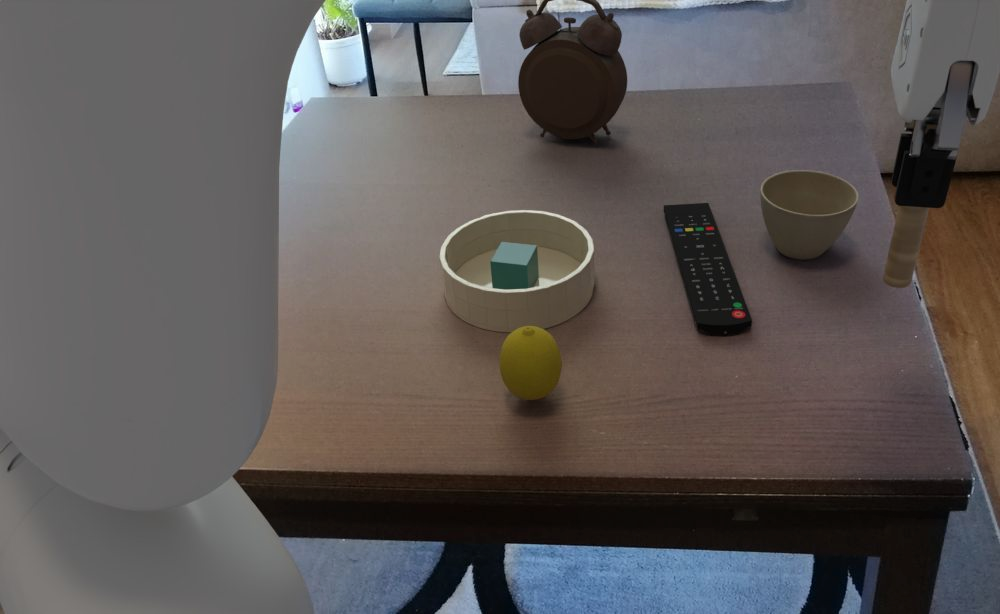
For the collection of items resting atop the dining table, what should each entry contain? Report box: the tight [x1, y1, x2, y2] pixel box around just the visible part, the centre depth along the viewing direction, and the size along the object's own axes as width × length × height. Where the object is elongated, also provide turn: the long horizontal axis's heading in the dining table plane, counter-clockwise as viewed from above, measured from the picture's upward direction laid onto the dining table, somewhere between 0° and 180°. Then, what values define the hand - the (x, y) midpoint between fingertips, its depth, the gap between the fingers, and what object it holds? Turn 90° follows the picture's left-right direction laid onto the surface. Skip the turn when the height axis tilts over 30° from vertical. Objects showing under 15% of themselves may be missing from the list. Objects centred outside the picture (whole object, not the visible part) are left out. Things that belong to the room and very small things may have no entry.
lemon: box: [498, 326, 563, 401], centre depth 78 cm, size 6×6×8 cm
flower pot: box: [759, 169, 860, 261], centre depth 95 cm, size 10×10×7 cm
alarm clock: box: [517, 0, 628, 146], centre depth 119 cm, size 15×7×20 cm, turn 65°
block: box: [490, 242, 539, 290], centre depth 93 cm, size 4×4×4 cm
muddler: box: [882, 125, 938, 289], centre depth 63 cm, size 2×2×13 cm
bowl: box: [438, 209, 595, 334], centre depth 93 cm, size 16×16×5 cm
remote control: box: [662, 202, 753, 337], centre depth 95 cm, size 5×24×1 cm, turn 179°
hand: (916, 193), depth 62 cm, fingers closed on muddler, 2 cm apart
